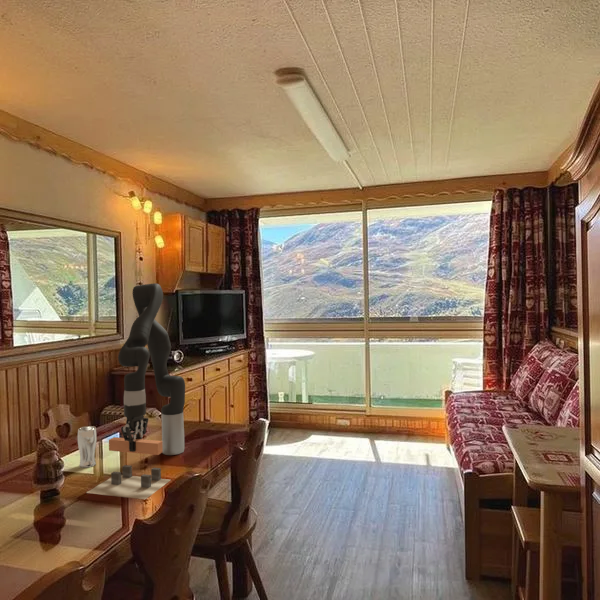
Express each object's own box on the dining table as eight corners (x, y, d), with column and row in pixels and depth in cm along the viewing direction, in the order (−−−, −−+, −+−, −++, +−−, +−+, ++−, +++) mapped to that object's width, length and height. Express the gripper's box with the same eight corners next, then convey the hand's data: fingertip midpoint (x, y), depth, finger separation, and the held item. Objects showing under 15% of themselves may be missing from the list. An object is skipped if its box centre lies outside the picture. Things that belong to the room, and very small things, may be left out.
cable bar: (114, 447, 174) (114, 437, 174) (162, 452, 169) (162, 441, 169) (108, 450, 171) (108, 439, 171) (158, 454, 166) (157, 443, 166)
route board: (116, 477, 178) (115, 463, 177) (171, 483, 172) (171, 468, 172) (85, 496, 161) (85, 481, 161) (145, 502, 156) (145, 487, 156)
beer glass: (76, 469, 187) (75, 431, 186) (79, 463, 193) (79, 426, 193) (95, 467, 188) (94, 430, 188) (98, 461, 195) (97, 425, 195)
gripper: (137, 397, 178) (137, 443, 178) (113, 406, 164) (114, 455, 164) (154, 398, 176) (155, 444, 176) (132, 407, 162) (133, 457, 163)
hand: (135, 449), depth 170 cm, fingers closed on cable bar, 3 cm apart
